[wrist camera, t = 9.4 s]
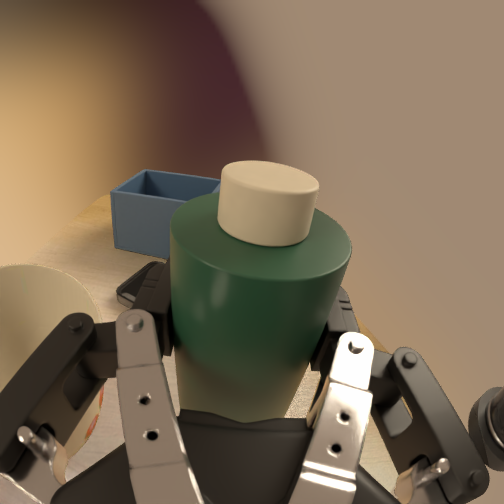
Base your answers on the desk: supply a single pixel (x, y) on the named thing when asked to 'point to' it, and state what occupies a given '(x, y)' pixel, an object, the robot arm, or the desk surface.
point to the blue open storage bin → (153, 208)
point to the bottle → (251, 289)
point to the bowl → (41, 324)
